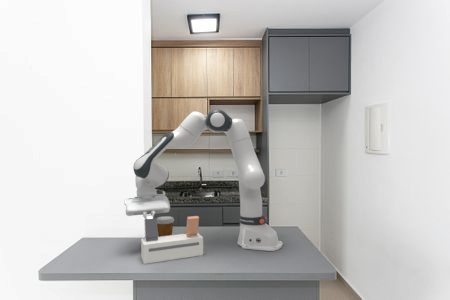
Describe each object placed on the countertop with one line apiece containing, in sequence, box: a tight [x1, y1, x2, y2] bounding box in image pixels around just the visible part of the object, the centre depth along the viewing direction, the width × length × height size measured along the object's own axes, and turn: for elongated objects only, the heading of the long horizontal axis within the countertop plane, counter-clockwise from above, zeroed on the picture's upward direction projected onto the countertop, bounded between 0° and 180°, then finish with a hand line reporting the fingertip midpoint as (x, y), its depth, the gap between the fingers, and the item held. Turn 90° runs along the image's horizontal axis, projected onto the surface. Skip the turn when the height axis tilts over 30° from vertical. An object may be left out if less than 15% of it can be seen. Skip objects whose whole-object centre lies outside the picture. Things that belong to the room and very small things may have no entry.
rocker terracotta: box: [185, 215, 200, 236], centre depth 136 cm, size 2×5×9 cm, turn 112°
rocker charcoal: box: [144, 217, 158, 241], centre depth 132 cm, size 2×5×9 cm, turn 112°
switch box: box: [140, 232, 204, 265], centre depth 134 cm, size 9×26×8 cm, turn 113°
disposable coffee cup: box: [156, 215, 175, 237], centre depth 156 cm, size 10×10×12 cm
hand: (149, 220), depth 136 cm, fingers closed
